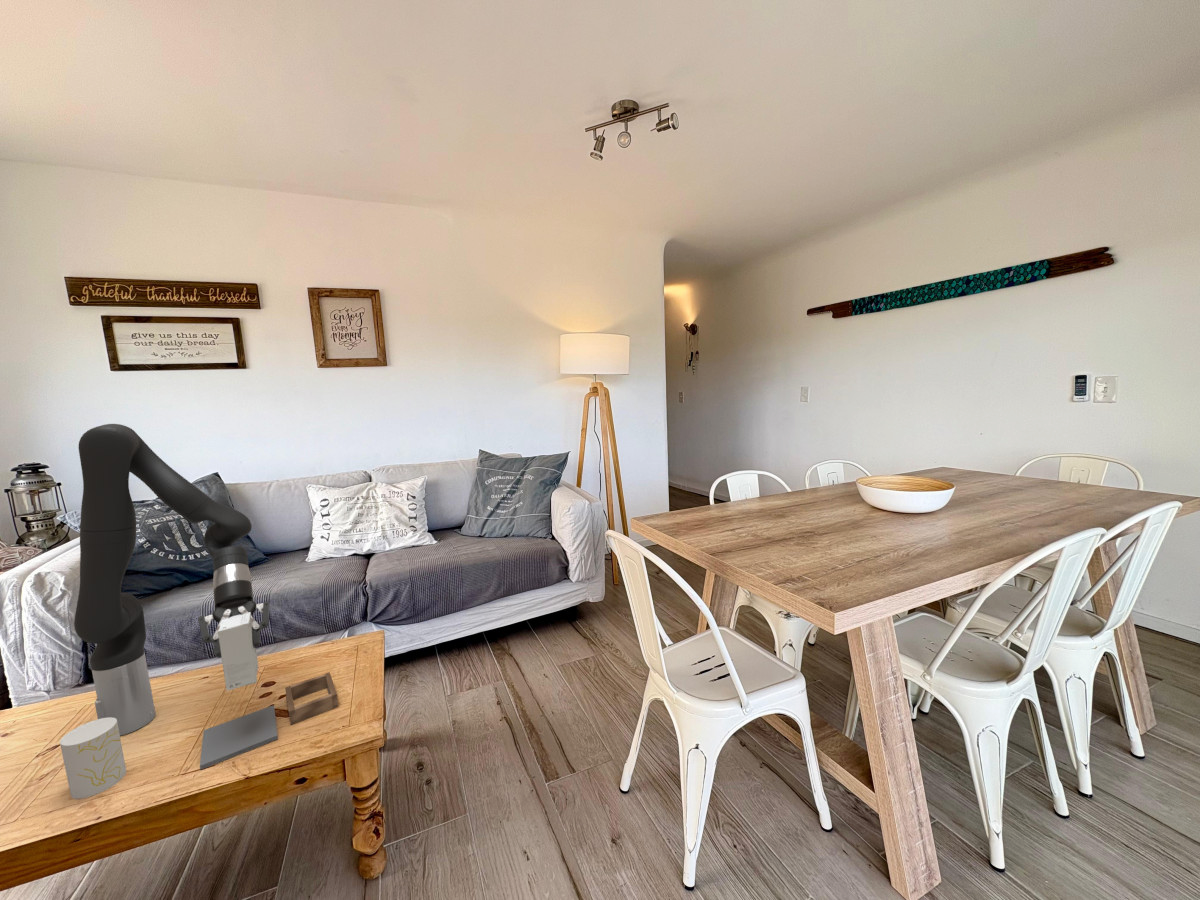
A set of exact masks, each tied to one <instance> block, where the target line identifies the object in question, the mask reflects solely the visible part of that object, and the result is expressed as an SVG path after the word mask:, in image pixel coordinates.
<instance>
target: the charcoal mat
mask: <svg viewBox="0 0 1200 900" xmlns="http://www.w3.org/2000/svg"><path fill="white" fill-rule="evenodd" d="M275 710H276V709H275V704H274V705H273V704H272V705H270V706H268V707H265V708H262V709H259V710H255V711H254V712H250V713H247V714H245V715H242V716H239V717H236V718H233V719H231V720H228V721H226V722H223V723H220V724H216V725H215V726H214V725H213V726H212V727H209V728H206V729H203V733H202V742H201V743H202V744H201V749H200V750H201V752H200V761H199V770H200V771H202V770H205V769H206V768H209V767H212V766H214V765H216V764H219V763H222V762H224V761H228V760H229V759H232V758H234V757H236V756H239V755H242V754H244V753H246V752H249V751H250V752H251V751H252V750H254V749H257V748H260V747H262V746H265V745H266V744H267V745H268V744H271V743H272V742H275V741H277V740H279V738H278V735H279V734H278V728H277V720H276V719H277V718H276V711H275ZM201 769H202V770H201Z"/></svg>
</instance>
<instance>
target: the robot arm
mask: <svg viewBox="0 0 1200 900" xmlns="http://www.w3.org/2000/svg"><path fill="white" fill-rule="evenodd" d="M78 454H79V455H78V456H79V460H80V461H79V462H80V467H81V473H82V475H81V476H82V484H83V486H82V488H83V489H82V498H81V508H80V522H79V549H80V550H79V551H80V554H79V555H80V556H79V591H78V596H77V603H76V608H75V614H74V623H73V624H74V626H73V627H74V630H75V631H74V632H75V633H76V635H77V636H78V638H80V639H81V640H82V641H83V642H85V643H89V644H92V645H94V644H95V645H96V646H95V649H94V650H93V652H92V654H91V656H90V657H89V658H90V659H89V663H90V667H91V668H90V669H91V673H92V679H93V684H94V688H95V694H96V699H95V702H94V706H95V711H96V712H95V713H96V717H97V719H101V718H108V717H113V718H116V719H117V724H118V729H119V734H120V737H121V736H125V735H127V734H131V733H133V732H135V731H137V730H139V729H142V728H143V727H144V726H146V725H148V724H149V723H150V722H153V720H154V718H155V717H156V709H155V708H156V707H155V704H154V697H153V693H152V687H151V686H152V685H151V682H150V681H151V680H150V675H149V669H148V663H147V658H146V653H145V644H146V643H145V642H146V639H147V631H146V623H145V615H144V609H143V605H142V603H141V602H140V600H139V599H138V598H137V597H136V596H135V595H134V594H131V593H128V592H122V586H123V585H122V584H123V579H124V577H125V574H126V571H127V568H128V566H129V563H130V562H131V560H132V559H131V558H132V556H133V553H134V551H135V547H136V541H137V515H136V510H135V506H134V502H133V499H132V495H131V493H130V487H129V481H130V479H129V478H130V473H131V474H132V475H133V476H134V477H136V478H138V480H140V481H141V482H142V483H143V484H145V486H147V487H148V488H149V489H150V491H152V492H153V494H154V495H155V496H156V497H158V498H159V500H160V501H162V503H164V504H165V505H166V506H167V507H168V508H169V509H171V510H172V511H174V512H175V513H176V514H178V515H179V516H181V517H182V518H184V519H185V520H186V521H188V522H190V523H192V524H198V523H202V522H205V521H209V522H212V524H211V525H210V526H208V528H207V529H206V530H205V532H204V535H203V541H204V544H205V547H206V548H207V551H208V553H209V554H210V557H211V559H212V566H213V578H212V579H213V580H212V587H213V588H212V590H213V600H214V602H213V604H214V610H213V612H212V614H209V615H205V616H204V615H201V616H198V618H197V621H198V627H199V630H200V632H201V633H200V634H201V638H202V640H203V643H204V644H209V643H211V644H212V645H213V654H214V656H215V657H218V659H220V658H221V659H222V657H221V650H220V643H219V636H218V630H219V628H220V623H221V621H222V620H224V619H228V618H229V617H232V616H236V615H240V614H242V615H244V614H249V612H251V624H252V629H253V631H252V633H253V643H254V648H256V649H257V648H258V646H259V645H261V644H262V643H261V631H263V629H267V628H268V627H269V623H270V622H269V621H270V619H269V618H270V601H268V600H266V601H264V602H262V603H256V602H255V601H254V592H253V585H252V584H253V581H252V574H251V571H250V568H249V567H250V566H249V557H248V551H247V549H246V548H245V547H243V546H241V545H234V544H235V543H236V542H238V541H240V540H241V539H243V538H244V537H245V536H247V535H249V534H250V533H251V531H252V523H251V520H250V519H249V517H248V516H246V515H245V514H244V513H243V512H241V511H238V510H237V509H234V508H231V507H230V506H227V505H225V504H223V503H220V502H217V501H215V500H214V499H213V498H211V497H210V496H209V495H207V493H205V492H204V491H202V490H201V489H199V488H198V487H197V486H195V484H193V483H192V482H190V481H189V480H188V479H186V478H185V477H184V476H183V475H181V474H180V473H178V472H177V471H176V470H175V469H173V468H172V467H171V466H170V465H169V464H167V462H165V461H164V460H163V459H162V458H161V457H160V456H159V455H157V454H156V453H155V451H153V450H152V448H151V447H149V445H148V444H147V443H146V442H145V441H144V440H143V439H142V438H141V437H140V436H139V434H138V433H137V432H136V431H135V430H134V429H132V428H131V427H130V426H127V425H125V424H120V423H107V424H102V425H99V426H94V427H92V428H89V429H88V430H87V431H85V432H84V433H83V434H82V435H81V437H80V439H79V441H78ZM256 610H258V612H259V613H260V614H262V616H261V617H262V619H261V622H259V623H258V622H257V621H256V620H255V618H254V617H253V615H254V613H255V612H256ZM213 620H214V621H215V622H217V623H218V625H217V627H216V630H215V631H214V633H213V634H210V633H209V629H208V626H210V625H211V623H212V621H213Z"/></svg>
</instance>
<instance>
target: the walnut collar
mask: <svg viewBox="0 0 1200 900" xmlns="http://www.w3.org/2000/svg"><path fill="white" fill-rule="evenodd" d="M324 689H326V690H327V692H328V694H327V695H324V696H321V697H318V698H315V699H313V700H311V701H308V702H305V703H303V704H300V705H296V706H295V703H294V700H296V699H299V698H301V697H304V696H307V695H310V694H312V693H316V692H319V691H321V690H324ZM284 691H285V698H286V703H287V709H288V715H289V716H288V717H289V722H290V726H292V725H294V724H296V723H299V722H302V721H305V720H307V719H309V718H312V717H315V716H317V715H320V714H323V713H325V712H328V711H330V710H333V709H336V708H338V707H339V700H338V693H337V691H336V686H335V684H334V680H333V677H332V675H331V673H330V672H326V673H323V674H321V675H317V676H314V677H311V678H309V679H306V680H303V681H300V682H297V683H294V684H291V685H288V686H285V687H284Z"/></svg>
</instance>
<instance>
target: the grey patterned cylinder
mask: <svg viewBox="0 0 1200 900" xmlns="http://www.w3.org/2000/svg"><path fill="white" fill-rule="evenodd" d="M59 745H60V749H61V753H62V754H61V755H62V760H63V764H64V768H65V775H66V778H67V783H68V789H69V793H70V798H72V799H74V800H82V799H86V798H89V797H93V796H95V795H98V794H100V793H103V792H104V791H107V790H108V789H110V788H112V787H114V786H115V785H117V783H119V782H120V781H121V780H122V779H123V778H124V777H125V775H126V773H127V767H126V761H125V757H124V755H125V754H124V751H123V746H122V745H123V744H122V740H121V736H120V734H119V729H118V724H117V719H116V718H113V717H108V718H101V719H98V718H97V719H94V720H92V721H88V722H86V723H83V724H81V725H79V726H77V727H75V728H73V729H72V730H70V731H69V732H67V733H66V734H65V735H63V737H62V738H60V740H59Z"/></svg>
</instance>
